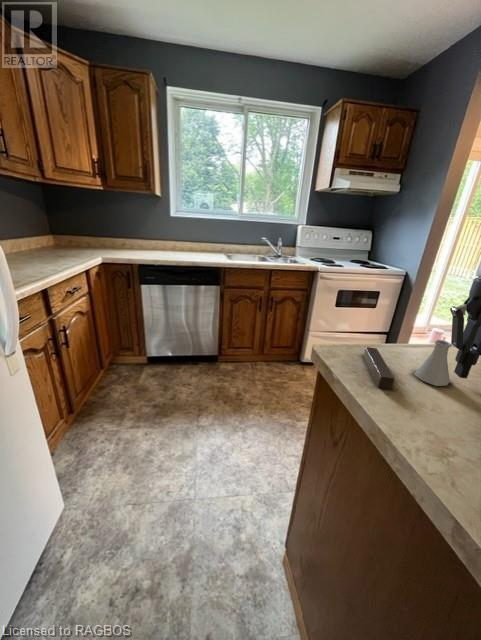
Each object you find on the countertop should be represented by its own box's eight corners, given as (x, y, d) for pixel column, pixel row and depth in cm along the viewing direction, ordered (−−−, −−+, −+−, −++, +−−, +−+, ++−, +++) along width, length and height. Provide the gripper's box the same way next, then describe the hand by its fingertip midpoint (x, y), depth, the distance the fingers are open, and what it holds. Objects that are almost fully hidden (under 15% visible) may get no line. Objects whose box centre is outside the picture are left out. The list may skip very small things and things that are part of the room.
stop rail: (374, 357, 77) (376, 348, 76) (391, 389, 63) (395, 378, 61) (363, 356, 78) (365, 346, 77) (377, 387, 63) (380, 376, 62)
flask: (408, 373, 70) (418, 338, 66) (426, 369, 72) (437, 334, 69) (436, 389, 63) (450, 351, 60) (455, 383, 66) (469, 346, 63)
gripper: (472, 280, 56) (437, 379, 64) (547, 286, 53) (501, 388, 62) (453, 274, 62) (424, 363, 71) (519, 279, 60) (480, 371, 68)
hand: (460, 375), depth 66 cm, fingers closed
